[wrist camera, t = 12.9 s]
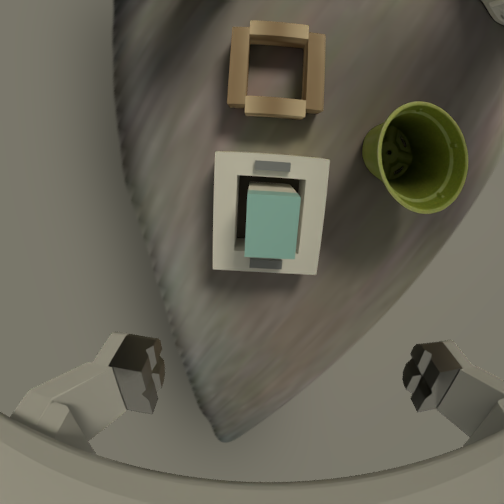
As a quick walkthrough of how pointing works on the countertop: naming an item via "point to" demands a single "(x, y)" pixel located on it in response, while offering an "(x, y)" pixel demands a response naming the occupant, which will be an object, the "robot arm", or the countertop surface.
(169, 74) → the countertop surface
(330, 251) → the countertop surface
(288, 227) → the plug
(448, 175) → the plant pot
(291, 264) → the port
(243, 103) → the brown wooden square frame
